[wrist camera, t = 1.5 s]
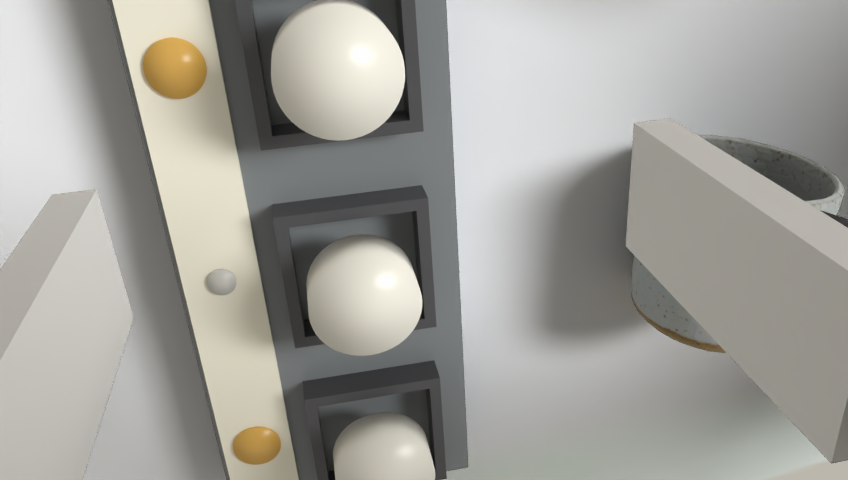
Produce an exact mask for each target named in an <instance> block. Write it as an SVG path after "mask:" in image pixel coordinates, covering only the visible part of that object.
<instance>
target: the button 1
mask: <svg viewBox="0 0 848 480" xmlns="http://www.w3.org/2000/svg"><path fill="white" fill-rule="evenodd" d="M271 82H272V87H273V92H274V95H275V97H276V100H277V102H278V104H279V106H280V108H281V109H282V111H283V112H284V114H285V115H286V116H287V117H288V118H289V119H290V121H291V122H292V123H294V124H295V125H296V126H297V127H299V128H300V129H302V130H303V131H305V132H307V133H309V134H311V135H313V136H316V137H319V138H322V139H327V140H337V141H340V140H350V139H355V138H358V137H362V136H364V135H366V134H368V133H371V132H372V131H374V130H375V129H377V128H378V127H380V126H381V125H382V124H383V123H384V122H385V121H386V120H387V119H388V118H389V117H390V116H391V115H392V113H393V112H394V110H395V109H396V107H397V105H398V103H399V101H400V99H401V96H402V93H403V89H404V83H405V66H404V60H403V56H402V53H401V50H400V48H399V46H398V44H397V42H396V40H395V39H394V37H393V35H392V34H391V33H390V31H389V30H388V29H387V27H386V26H385V24H384V23H383V22H382V21H381V19H380V18H379V17H378V16H377V15H376V14H375V13H373V12H372V11H371V10H369V9H368V8H366V7H364V6H363V5H361V4H359V3H356V2H354V1H350V0H316V1H313V2H310V3H308V4H306V5H303V6H302V7H300V8H299V9H297V10H296V11H295V12H293V13H292V14H291V15H290V16H289V17H288V18H287V19H286V20H285V22H284V23H283V24H282V26H281V27H280V29H279V31H278V33H277V35H276V37H275V40H274V43H273V48H272V56H271Z"/></svg>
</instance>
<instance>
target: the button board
mask: <svg viewBox="0 0 848 480" xmlns="http://www.w3.org/2000/svg"><path fill="white" fill-rule="evenodd" d="M313 1H316V0H108V4H109V8H110V12H111V16H112V20H113V24H114V28H115V32H116V36H117V40H118V45H119V49H120V53H121V57H122V61H123V65H124V69H125V73H126V77H127V81H128V85H129V89H130V93H131V97H132V101H133V105H134V109H135V113H136V117H137V121H138V125H139V129H140V133H141V137H142V141H143V145H144V149H145V153H146V157H147V161H148V165H149V169H150V173H151V177H152V181H153V185H154V189H155V193H156V197H157V201H158V205H159V209H160V213H161V217H162V221H163V225H164V229H165V234H166V238H167V242H168V246H169V250H170V254H171V258H172V262H173V266H174V270H175V274H176V278H177V282H178V286H179V290H180V294H181V298H182V302H183V306H184V310H185V314H186V318H187V322H188V326H189V330H190V334H191V338H192V342H193V346H194V350H195V354H196V358H197V362H198V366H199V370H200V374H201V378H202V382H203V386H204V390H205V394H206V398H207V402H208V406H209V410H210V414H211V418H212V423H213V427H214V431H215V435H216V439H217V443H218V447H219V451H220V455H221V459H222V463H223V467H224V471H225V475H226V479H227V480H335V471H334V461H333V448H334V445H335V442H336V440H337V438H338V436H339V435H340V434H341V432H342V431H343V430H344V429H345V428H346V427H347V426H348V425H350V424H351V423H352V422H354V421H356V420H357V419H359V418H362V417H364V416H367V415H370V414H374V413H381V412H391V413H398V414H402V415H405V416H407V417H409V418H411V419H413V420H414V421H416V422H417V423H418V424H419V425H420V426H421V428H422V429H423V431H424V432H425V435H426V438H427V442H428V445H429V449H430V453H431V457H432V460H433V464H434V468H435V480H442V479H447V477H446V471H450V470H456V469H461V468H467V467H468V450H467V429H466V408H465V387H464V366H463V345H462V324H461V303H460V282H459V261H458V240H457V219H456V198H455V177H454V156H453V135H452V114H451V93H450V72H449V51H448V30H447V9H446V0H350V1H354V2H356V3H359V4H361V5H363V6H364V7H366V8H368V9H369V10H371V11H372V12H373V13H375V14H376V15H377V16H378V17H379V18H380V19H381V21H382V22H383V23H384V24H385V26H386V27H387V29H388V30H389V31H390V33H391V34H392V35H393V37H394V39H395V40H396V42H397V44H398V46H399V48H400V50H401V53H402V56H403V60H404V66H405V83H404V89H403V93H402V96H401V99H400V101H399V103H398V105H397V107H396V109H395V110H394V112H393V113H392V115H391V116H390V117H389V118H388V119H387V120H386V121H385V122H384V123H383V124H382V125H381V126H380V127H378V128H377V129H375V130H374V131H372V132H371V133H368V134H366V135H364V136H362V137H358V138H355V139H350V140H340V141H337V140H327V139H322V138H319V137H316V136H313V135H311V134H309V133H307V132H305V131H303V130H302V129H300V128H299V127H297V126H296V125H295V124H294V123H292V122H291V121H290V119H289V118H288V117H287V116H286V115H285V114H284V112H283V111H282V109H281V108H280V106H279V104H278V102H277V100H276V97H275V95H274V92H273V87H272V82H271V56H272V48H273V43H274V40H275V37H276V35H277V33H278V31H279V29H280V27H281V26H282V24H283V23H284V22H285V20H286V19H287V18H288V17H289V16H290V15H291V14H292V13H293V12H295V11H296V10H297V9H299V8H300V7H302V6H303V5H306V4H308V3H310V2H313ZM359 234H369V235H376V236H380V237H383V238H385V239H388V240H390V241H391V242H393V243H395V244H396V245H397V246H399V247H400V248H401V249H402V250H403V251H404V252H405V254H406V255H407V257H408V258H409V260H410V262H411V265H412V267H413V270H414V273H415V276H416V279H417V282H418V285H419V288H420V291H421V295H422V312H421V315H420V319H419V321H418V323H417V325H416V327H415V328H414V330H413V331H412V332H411V334H410V335H409V336H408V337H407V338H406V339H405V340H404V341H402V342H401V343H400V344H398V345H397V346H395V347H393V348H392V349H389V350H387V351H385V352H382V353H379V354H374V355H367V356H355V355H348V354H344V353H341V352H338V351H336V350H334V349H332V348H330V347H329V346H327V345H326V344H325V343H323V342H322V341H321V340H320V339H319V337H318V336H317V335H316V334H315V332H314V330H313V328H312V326H311V324H310V320H309V314H308V300H307V287H306V282H307V275H308V271H309V269H310V266H311V264H312V262H313V260H314V259H315V258H316V256H317V255H318V254H319V253H320V252H321V251H322V250H323V249H324V248H325V247H327V246H328V245H329V244H331V243H333V242H334V241H336V240H339V239H341V238H344V237H347V236H351V235H359Z"/></svg>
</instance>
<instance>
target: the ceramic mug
mask: <svg viewBox="0 0 848 480" xmlns="http://www.w3.org/2000/svg"><path fill="white" fill-rule="evenodd" d="M698 136H700V137H701V138H703V139H704V140H706V141H708V142H709V143H711V144H713V145H714V146H716V147H717V148H719V149H721V150H722V151H724V152H726V153H727V154H729V155H730V156H732V157H734V158H735V159H737V160H739V161H740V162H742V163H743V164H745V165H747V166H748V167H750V168H752V169H753V170H755V171H756V172H758V173H760V174H761V175H763V176H765V177H766V178H768V179H769V180H771V181H773V182H774V183H776V184H777V185H779V186H781V187H782V188H784V189H786V190H787V191H789V192H790V193H792V194H794V195H795V196H797V197H799V198H800V199H802V200H803V201H805V202H807V203H808V204H810V205H812V206H813V207H815V208H816V209H818V210H820V211H825V212H828V213H831V214H833V215H837V213H838V211H839V208H840V205H841V202H842V199H843V196H844V187H843V185H842V183H841V181H840V180H839V179H838V178H837V177H836V176H835V175H834V174H833V173H831V172H830V171H829V170H827V169H826V168H825V167H823V166H821V165H819V164H817V163H815V162H813V161H811V160H809V159H807V158H804V157H802V156H799V155H797V154H794V153H792V152H789V151H787V150H783V149H780V148H776V147H773V146H770V145H767V144H762V143H758V142H754V141H750V140H745V139H741V138H729V137H721V136H715V135H698ZM631 296H632V300H633V303H634V305H635V307H636V308H637V310H638V311H639V313H640V314H641V315H642V316H643V317H644V318H645V320H646V321H647V322H648V323H650V324H651V325H652V326H653V327H654V328H656V329H657V330H658V331H660V332H662V333H663V334H665V335H667V336H669V337H670V338H672V339H674V340H676V341H678V342H681V343H683V344H686V345H689V346H692V347H695V348H699V349H703V350H706V351H712V352H722V353H726V352H725V351H724V350H723V349H722V348H721V346H720V345H719V344H718V343H717V342H716V341H715V340H714V339H713V338H712V337H711V336H710V335H709V334H708V333H707V332H706V331H705V330H704V328H703V327H702V326H701V325H700V324H699V323H698V322H697V321H696V320H695V319H694V318H693V317H692V316H691V315H690V314H689V313H688V312H687V310H686V309H685V308H684V307H683V306H682V305H681V304H680V303H679V302H678V301H677V300H676V299H675V298H674V297H673V296H672V295H671V294H670V293H669V291H668V290H667V289H666V288H665V287H664V286H663V285H662V284H661V283H660V282H659V281H658V280H657V279H656V278H655V277H654V276H653V275H652V273H651V272H650V271H649V270H648V269H647V268H646V267H645V266H644V265H643V264H642V263H641V262H640V261H639V260H638V259H637V258H636V257H635V256H634V260H633V265H632V275H631Z"/></svg>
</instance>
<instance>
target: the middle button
mask: <svg viewBox="0 0 848 480" xmlns="http://www.w3.org/2000/svg"><path fill="white" fill-rule="evenodd" d="M306 287H307V300H308V314H309V320H310V324H311V326H312V328H313V330H314V332H315V334H316V335H317V336H318V337H319V339H320V340H321V341H322V342H323V343H325V344H326V345H327V346H329V347H330V348H332V349H334V350H336V351H338V352H341V353H344V354H348V355H355V356H367V355H374V354H379V353H382V352H385V351H387V350H389V349H392V348H393V347H395V346H397V345H398V344H400V343H401V342H402V341H404V340H405V339H406V338H407V337H408V336H409V335H410V334H411V332H412V331H413V330H414V328H415V327H416V325H417V323H418V321H419V319H420V315H421V312H422V295H421V291H420V288H419V285H418V282H417V279H416V276H415V273H414V270H413V267H412V265H411V262H410V260H409V258H408V257H407V255H406V254H405V252H404V251H403V250H402V249H401V248H400V247H399V246H397V245H396V244H395V243H393V242H391V241H390V240H388V239H385V238H383V237H380V236H376V235H369V234H359V235H351V236H347V237H344V238H341V239H339V240H336V241H334V242H333V243H331V244H329V245H328V246H327V247H325V248H324V249H323V250H322V251H321V252H320V253H319V254H318V255H317V256H316V258H315V259H314V260H313V262H312V264H311V266H310V269H309V271H308V275H307V282H306Z"/></svg>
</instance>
